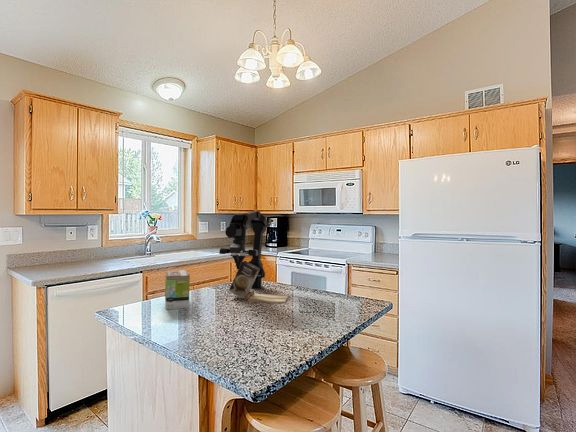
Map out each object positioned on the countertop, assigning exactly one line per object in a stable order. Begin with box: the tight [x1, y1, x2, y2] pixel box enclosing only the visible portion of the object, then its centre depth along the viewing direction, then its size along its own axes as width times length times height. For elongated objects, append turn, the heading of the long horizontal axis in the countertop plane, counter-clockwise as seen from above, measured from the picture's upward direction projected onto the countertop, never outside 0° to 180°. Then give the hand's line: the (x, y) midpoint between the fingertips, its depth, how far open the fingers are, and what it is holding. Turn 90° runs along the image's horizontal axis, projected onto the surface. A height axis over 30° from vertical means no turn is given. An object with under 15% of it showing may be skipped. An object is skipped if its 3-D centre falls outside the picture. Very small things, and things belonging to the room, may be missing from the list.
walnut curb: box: [244, 289, 255, 302], centre depth 165 cm, size 14×1×2 cm, turn 172°
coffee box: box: [228, 260, 260, 300], centre depth 165 cm, size 9×6×16 cm
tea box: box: [164, 269, 191, 310], centre depth 151 cm, size 15×10×15 cm
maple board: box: [247, 293, 289, 304], centre depth 163 cm, size 13×18×1 cm
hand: (238, 269), depth 165 cm, fingers closed
